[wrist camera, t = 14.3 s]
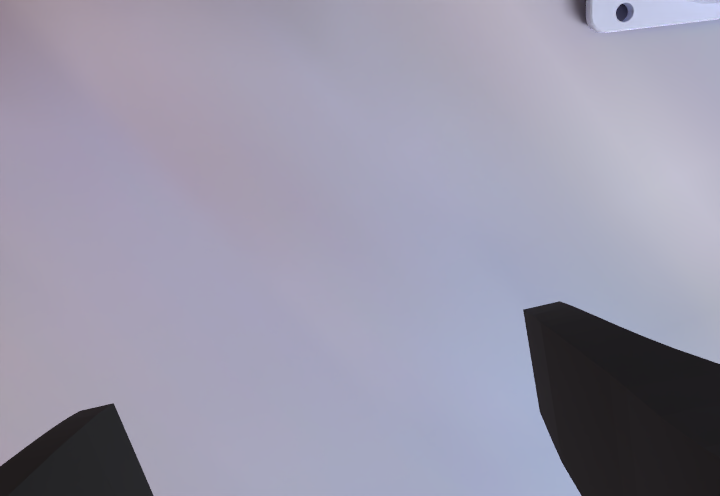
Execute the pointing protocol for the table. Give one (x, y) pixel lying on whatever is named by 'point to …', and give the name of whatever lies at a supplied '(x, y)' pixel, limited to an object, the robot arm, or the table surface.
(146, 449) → the table surface
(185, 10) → the table surface
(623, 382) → the robot arm
